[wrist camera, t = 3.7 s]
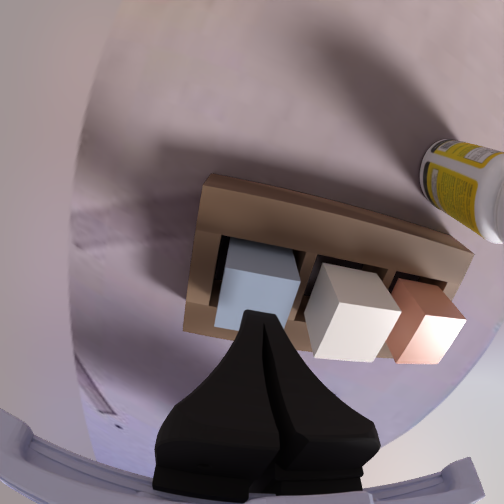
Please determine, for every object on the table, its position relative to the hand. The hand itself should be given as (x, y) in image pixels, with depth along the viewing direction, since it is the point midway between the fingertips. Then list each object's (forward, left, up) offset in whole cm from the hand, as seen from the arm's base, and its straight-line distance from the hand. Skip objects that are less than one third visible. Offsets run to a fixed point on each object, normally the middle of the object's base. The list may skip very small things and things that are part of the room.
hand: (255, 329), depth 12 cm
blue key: (0, 0, -5) cm, 5 cm away
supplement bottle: (+9, -11, -7) cm, 16 cm away
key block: (0, -5, -7) cm, 9 cm away
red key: (0, -10, -4) cm, 11 cm away
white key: (0, -5, -4) cm, 7 cm away
